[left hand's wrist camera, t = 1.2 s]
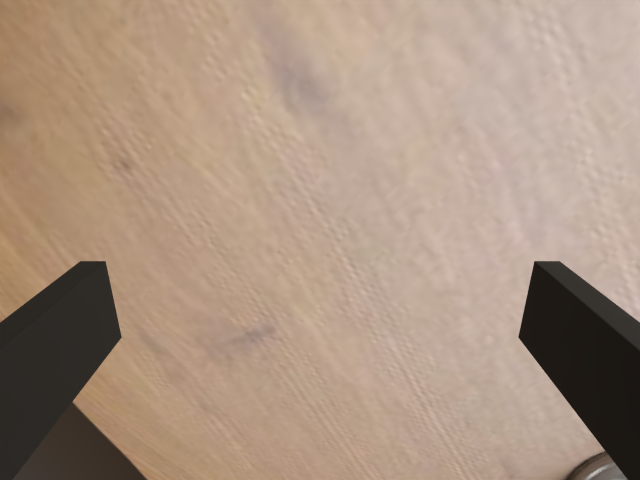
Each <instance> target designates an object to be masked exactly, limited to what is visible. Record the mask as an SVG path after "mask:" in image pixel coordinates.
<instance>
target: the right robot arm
mask: <svg viewBox="0 0 640 480" xmlns="http://www.w3.org/2000/svg"><path fill="white" fill-rule="evenodd" d="M568 480H627V478H626V477H625V476H624V474H623V473H622V472H621V470H620V469H619V468H618V467H617V465H616V464H615V463H614V461H613V460H612V459H611V457H610V456H609V455H608V453H607V452H605V453H603V454H600V455H598V456H596V457H594V458H592V459H591V460H589V461H587V462H586V463H585V464H583V465H582V466H581V467H579V468H578V469H577V470H576V471H575V472H574V473H573V474H572V475H571V476H570V477H569V478H568Z"/></svg>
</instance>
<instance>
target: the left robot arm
mask: <svg viewBox="0 0 640 480" xmlns="http://www.w3.org/2000/svg"><path fill="white" fill-rule="evenodd" d="M120 339H121V333H120V328H119V323H118V318H117V314H116V309H115V304H114V299H113V295H112V290H111V285H110V280H109V276H108V271H107V266H106V261H80V262H79V263H78V264H76V265H75V266H74V267H72V268H71V269H70V270H68V271H67V272H66V273H65V274H63V275H62V276H61V277H59V278H58V279H57V280H55V281H54V282H53V283H51V284H50V285H49V286H48V287H46V288H45V289H44V290H42V291H41V292H40V293H38V294H37V295H36V296H34V297H33V298H32V299H31V300H29V301H28V302H27V303H25V304H24V305H23V306H21V307H20V308H19V309H17V310H16V311H15V312H14V313H12V314H11V315H10V316H8V317H7V318H6V319H4V320H3V321H2V322H0V480H13V478H14V477H15V476H16V474H17V473H18V472H19V470H20V469H21V468H22V467H23V465H24V464H25V463H26V461H27V460H28V459H29V457H30V456H31V455H32V453H33V452H34V451H35V450H36V448H37V447H38V446H39V444H40V443H41V442H42V440H43V439H44V438H45V437H46V435H47V434H48V433H49V431H50V430H51V429H52V427H53V426H54V425H55V423H56V422H57V421H58V420H59V418H60V417H61V416H62V414H63V413H64V412H65V410H66V409H67V408H68V407H69V405H70V404H71V403H72V401H73V400H74V399H75V397H76V396H77V395H78V393H79V392H80V391H81V390H82V388H83V387H84V386H85V384H86V383H87V382H88V380H89V379H90V378H91V377H92V375H93V374H94V373H95V371H96V370H97V369H98V367H99V366H100V365H101V363H102V362H103V361H104V360H105V358H106V357H107V356H108V354H109V353H110V352H111V350H112V349H113V348H114V346H115V345H116V344H117V343H118V341H119V340H120ZM519 339H520V340H521V341H522V343H523V344H524V345H525V346H526V348H527V349H528V350H529V352H530V353H531V354H532V356H533V357H534V358H535V360H536V361H537V362H538V363H539V365H540V366H541V367H542V369H543V370H544V371H545V373H546V374H547V375H548V377H549V378H550V379H551V380H552V382H553V383H554V384H555V386H556V387H557V388H558V390H559V391H560V392H561V393H562V395H563V396H564V397H565V399H566V400H567V401H568V403H569V404H570V405H571V407H572V408H573V409H574V410H575V412H576V413H577V414H578V416H579V417H580V418H581V420H582V421H583V422H584V423H585V425H586V426H587V427H588V429H589V430H590V431H591V433H592V434H593V435H594V437H595V438H596V439H597V440H598V442H599V443H600V444H601V446H602V447H603V448H604V450H605V451H606V452H607V453H608V455H609V456H610V457H611V459H612V460H613V461H614V463H615V464H616V465H617V467H618V468H619V469H620V470H621V472H622V473H623V474H624V476H625V477H626V478H627V480H640V322H638V321H637V320H636V319H634V318H633V317H632V316H630V315H629V314H628V313H626V312H625V311H624V310H623V309H621V308H620V307H619V306H617V305H616V304H615V303H613V302H612V301H611V300H609V299H608V298H607V297H606V296H604V295H603V294H602V293H600V292H599V291H598V290H596V289H595V288H594V287H592V286H591V285H590V284H589V283H587V282H586V281H585V280H583V279H582V278H581V277H579V276H578V275H577V274H575V273H574V272H573V271H572V270H570V269H569V268H568V267H566V266H565V265H564V264H562V263H561V262H560V261H534V266H533V271H532V276H531V280H530V285H529V290H528V295H527V299H526V304H525V309H524V314H523V318H522V323H521V328H520V333H519Z"/></svg>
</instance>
